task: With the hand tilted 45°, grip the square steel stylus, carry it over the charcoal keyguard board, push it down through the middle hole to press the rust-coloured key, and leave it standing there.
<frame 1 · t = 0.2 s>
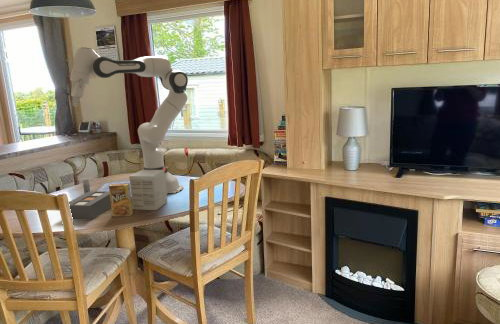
hand: (74, 106, 195), 52 cm above the table, tool tilted 20°, fingers open, 8 cm apart
white key far: (81, 206, 184), point 5 cm above the table, slide at 0.0 cm
supplement box: (150, 206, 197), on the table
keyguard board: (91, 211, 192), on the table
white key near arm: (97, 197, 198), point 5 cm above the table, slide at 0.0 cm
candy box: (122, 215, 185), on the table
steel stylus: (88, 200, 211), on the table
rust key: (90, 201, 191), point 5 cm above the table, slide at 0.0 cm
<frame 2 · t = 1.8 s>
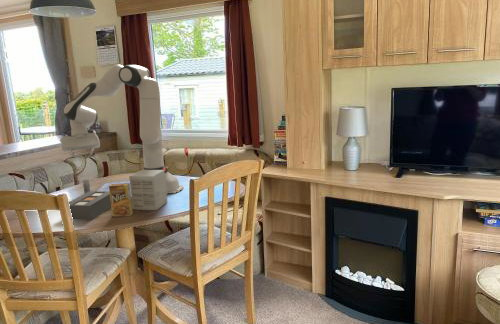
hand: (82, 154, 216), 23 cm above the table, tool tilted 45°, fingers open, 8 cm apart
nothing on the table moved.
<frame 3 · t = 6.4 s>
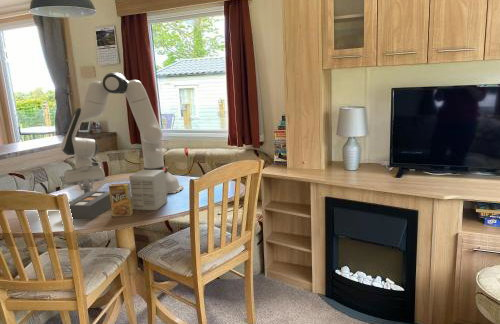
hand: (87, 189, 209), 7 cm above the table, tool tilted 45°, fingers closed on steel stylus, 3 cm apart
steel stylus: (88, 200, 211), on the table, touching gripper
everything else where it was.
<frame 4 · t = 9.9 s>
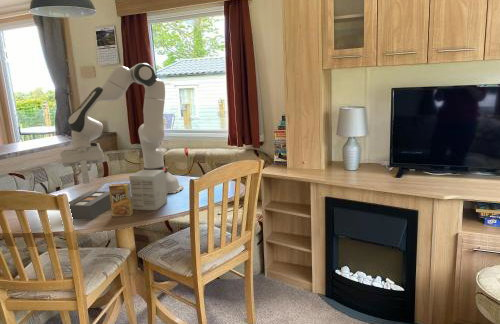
hand: (84, 170, 196), 19 cm above the table, tool tilted 45°, fingers closed on steel stylus, 3 cm apart
steel stylus: (86, 182, 198), point 13 cm above the table, touching gripper
everything else where it was.
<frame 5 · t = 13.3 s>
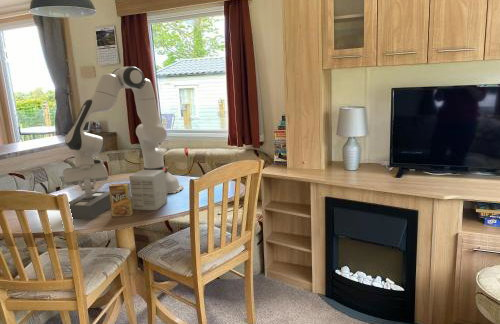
hand: (88, 189, 189), 12 cm above the table, tool tilted 45°, fingers closed on steel stylus, 3 cm apart
steel stylus: (89, 201, 191), point 5 cm above the table, touching gripper, rust key
rust key: (90, 204, 191), point 4 cm above the table, slide at 1.4 cm, touching steel stylus
everything else where it was.
when the fingers open (12 cm above the table, at t = 13.4 s): steel stylus stays where it is, resting on rust key.
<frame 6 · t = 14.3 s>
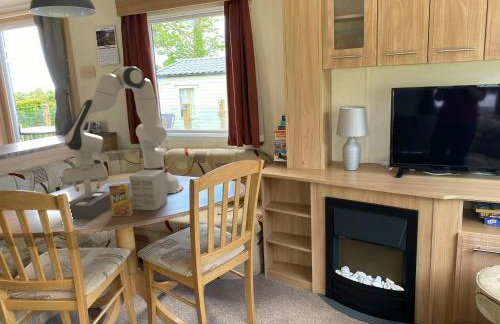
hand: (88, 189, 189), 12 cm above the table, tool tilted 45°, fingers open, 8 cm apart
steel stylus: (89, 202, 191), point 5 cm above the table, touching rust key
everything else where it was.
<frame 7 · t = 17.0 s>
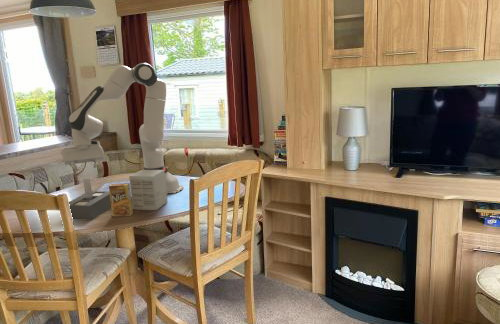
hand: (85, 168, 198), 20 cm above the table, tool tilted 45°, fingers open, 8 cm apart
nothing on the table moved.
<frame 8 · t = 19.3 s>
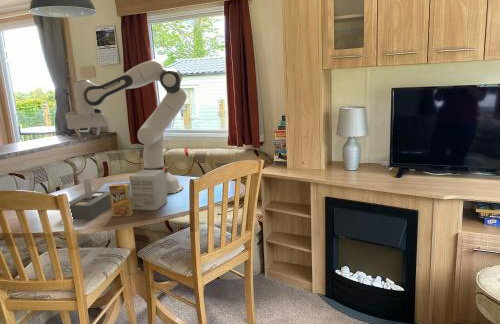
hand: (88, 135, 213), 34 cm above the table, tool pointing down, fingers open, 8 cm apart
nothing on the table moved.
at the end: rust key slide at 1.5 cm; steel stylus 0.1 cm from the rust key (horizontally); steel stylus tilted 0° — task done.
